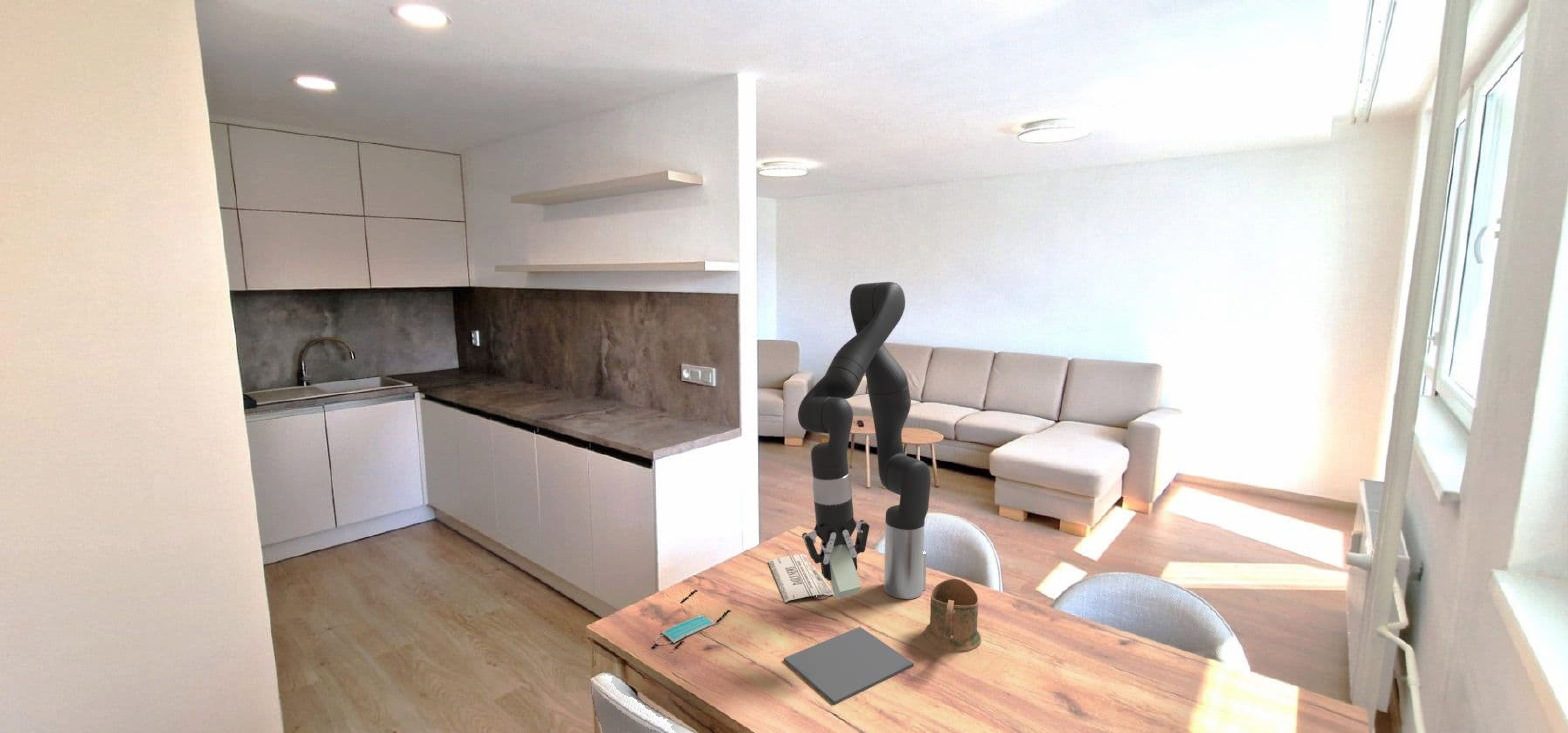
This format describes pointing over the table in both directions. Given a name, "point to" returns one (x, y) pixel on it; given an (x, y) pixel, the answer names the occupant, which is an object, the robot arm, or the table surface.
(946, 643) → the mug
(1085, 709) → the table surface
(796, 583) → the newspaper
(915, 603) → the table surface
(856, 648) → the mat
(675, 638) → the surgical mask
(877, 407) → the robot arm
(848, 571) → the block
